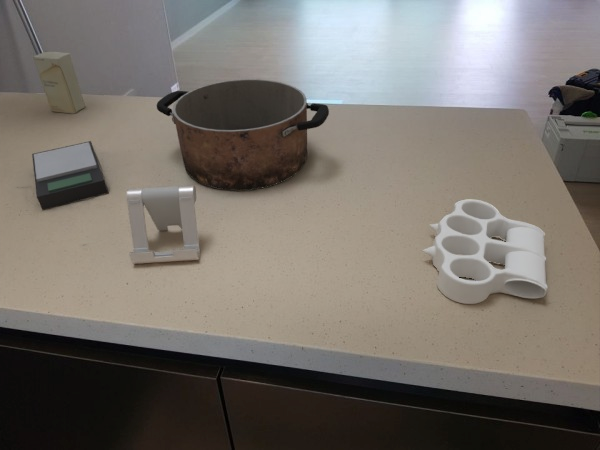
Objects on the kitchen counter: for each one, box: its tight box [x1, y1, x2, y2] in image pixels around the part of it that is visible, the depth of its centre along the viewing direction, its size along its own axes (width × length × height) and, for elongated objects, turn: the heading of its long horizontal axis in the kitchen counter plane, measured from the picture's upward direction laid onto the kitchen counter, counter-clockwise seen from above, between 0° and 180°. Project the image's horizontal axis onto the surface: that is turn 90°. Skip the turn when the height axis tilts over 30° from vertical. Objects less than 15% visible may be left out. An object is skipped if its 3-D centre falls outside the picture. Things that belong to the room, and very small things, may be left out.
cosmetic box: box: [32, 50, 86, 115], centre depth 100 cm, size 6×4×12 cm
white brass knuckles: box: [421, 198, 549, 305], centre depth 59 cm, size 3×18×15 cm
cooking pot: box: [156, 78, 330, 191], centre depth 80 cm, size 30×22×11 cm
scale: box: [31, 140, 109, 211], centre depth 78 cm, size 16×10×3 cm, turn 28°
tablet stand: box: [125, 185, 201, 265], centre depth 61 cm, size 9×8×8 cm
